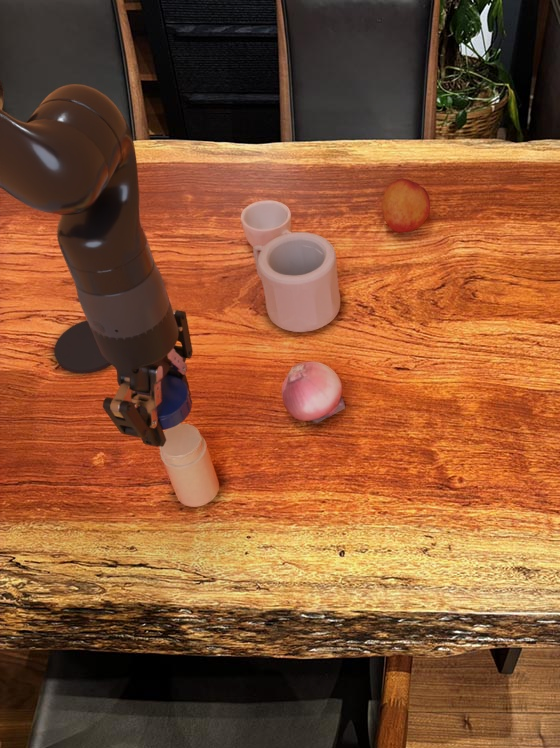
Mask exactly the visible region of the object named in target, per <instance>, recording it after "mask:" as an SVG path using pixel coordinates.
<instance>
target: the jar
mask: <svg viewBox="0 0 560 748" xmlns="http://www.w3.org/2000/svg"><path fill="white" fill-rule="evenodd" d="M163 432H164V435H165V437H166V442H165V444H164V446H163V447H160V446H158V448H159V452H160V453H159V454H160V459H161V461H162V465H163V466H164V469H165V472H166V473H167V477H168V478H169V481H170V484H171V486H172V488H173V491H174V493H175V496H176V498H177V500H178V501H179V502H180V503H181V504H182V505H184V506H187V507H189V508H190V507H191V508H195V507H196V508H197V507H201V506H204V505H208V503H210V502H211V501H213V499H214V498H216V496H217V495H218V493H219V489H220V482H219V478H218V475H217V471H216V469H215V466H214V463H213V461H212V457H211V453H210V450H209V448H208V444H207V442H206V440H205V438H204V437H203V435H202V434H201V432H200V430H199V429H198V428H197V427H196V426H195V425H193V424H189V423H180V424H178V425H177V426H175V427H172V428H169V429H165V430H164V431H163Z"/></svg>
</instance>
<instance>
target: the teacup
mask: <svg viewBox="0 0 560 748" xmlns="http://www.w3.org/2000/svg"><path fill="white" fill-rule="evenodd" d="M240 222H241V223H240V224H241V227H242V230H243V233H244V237H245V239H246V241H247V243H248V244H249V245H250V246H251V247H252V248H253V247H254V246H256V245H260V246H265V245H266V244H267V243H268V242H270V241H271V240H273V239H274V238H276V237H278V236H281V235H284V234H287V233H293V232H292V212H291V210H290V208H289V207H288V206H287V205H286V204H285V203H283V202H280V201H277V200H272V199H270V200H269V199H265V200H259V201H255V202H253V203H251V204H249V205H247V206H246V207H245V208H243V210H242V212H241V214H240Z"/></svg>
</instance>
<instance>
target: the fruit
mask: <svg viewBox="0 0 560 748" xmlns="http://www.w3.org/2000/svg"><path fill="white" fill-rule="evenodd" d="M430 212H431V199H430V195H429V194H428V191H427V190H426V188H425V187H423V186H422V185H420V184H419V183H416V182H415V181H412V180H411V179H409V178H404V177H403V178H398V179H396V180H394V181H392V182H390V184H389V185H388V186H387V187H386V189H385V191H384V193H383V196H382V200H381V214H382V216H383V219H384V220H385V222H386V224H387V226H388V227H389V228H390V229H391V230H392V231H394V232H396V233H398V234H399V233H401V234H402V233H403V234H404V233H411V232H414V231H416V230H417V229H419V228H420V227H421V226H422V225H423V224H424V223H425V222H426V221H427V218H428V217H429V215H430Z"/></svg>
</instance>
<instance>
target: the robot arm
mask: <svg viewBox="0 0 560 748" xmlns="http://www.w3.org/2000/svg"><path fill="white" fill-rule="evenodd" d="M4 101H5V90H4V86H3V81H2V80H1V79H0V189H1V190H3V191H4V192H5V193H7V194H8V195H10V196H11V197H12V198H14V199H16V200H17V201H18V202H20V203H22V204H24V205H26V206H27V207H29V208H31V209H34V210H36V211H39V212H42V213H46V214H50V215H56V216H60V218H59V220H58V223H57V228H56V238H57V242H58V246H59V249H60V252H61V254H62V257H63V259H64V262H65V264H66V267H67V269H68V271H69V273H70V276H71V279H72V280H73V283H74V286H75V289H76V294H77V298H78V301H79V304H80V307H81V309H82V312H83V314H84V316H85V318H86V320H87V321H88V323H89V326H90V328H91V330H92V333H93V335H94V337H95V340H96V342H97V344H98V347H99V349H100V351H101V353H102V355H103V356H104V358H105V359H106V360H107V361H108V362H109V363H111V364H112V365H111V366H112V367H114V369H115V370H116V381H117V385H118V386H119V387H118V389H117V391H116V393H115V395H114V397H110V396H109V397H105V398H104V400H103V402H102V408H103V410H104V411H105V413H106V414H107V415H108V417H109V418H110V420H111V421H112V423H113V424H114V425H115V427H116V428H117V429H118V430H117V431H119V432H120V434H121V435H126V436H130V437H135V438H140V439H141V441H142V444H144V445H146V446H150V447H156V448H159V446H160V447H163V446H164V444H165V442H166V437H165V435H164V432H165V431H164V430H162V427H161V424H160V422H159V420H158V410H157V406H158V405H160V404H161V402H162V397H161V382H162V379H163V378H164V376H165V375H172V376H175V377H178V378H180V379H181V380H182V381H183V382H184V383H185V384H186V386H187V387H188V390H189V393H190V397H191V395H192V393H191V390H190V384H189V382H188V378H187V374H186V373H187V371H188V364H187V363H186V360H190V359H191V358H192V356H193V346H192V345H193V344H192V339H191V334H190V329H189V324H188V318H187V317H188V316H187V313H186V311H184V310H179V309H175V308H173V306H172V304H171V301H170V298H169V294H168V291H167V288H166V285H165V281H164V278H163V276H162V273H161V271H160V269H159V267H158V265H157V263H156V262H155V259H154V257H153V253H152V249H151V246H150V243H149V240H148V237H147V234H146V230H145V228H144V225H143V223H142V220H141V219H142V218H141V207H140V205H141V199H140V198H141V197H140V185H139V173H138V162H137V161H138V160H137V153H136V147H135V143H134V140H133V134H132V132H131V129H130V127H129V125H128V123H127V120H126V119H125V117H124V115H123V114H122V111H120V109H119V108H118V107H117V105H116V104H115V103H114V102H113V101H112V100H111V99H110V98H109V97H108V96H107V95H106V94H104V93H103V92H101V91H99V90H98V89H96V88H94V87H92V86H88V85H84V84H79V83H78V84H76V83H75V84H74V83H73V84H66V85H63V86H60V87H58V88H56V89H55V90H53V91H52V92H51V93H49V94H48V95H47V96H46V97H45V98H44V99H43V100H42V102H41V103H40V104H39V105H38V107H36V109H35V111H34V112H33V113H32V114H31V115H30V117H29V118H28V119H27V121H25V122H24V121H21V120H19V119H17V118H15V117H13V116H11V115H10V114H8V113H7V112H5V111H4V110H3V109H4ZM177 342H179V343H180V344H181V345H177ZM136 391H137V392H143V393H151V396H146V395H141V394H138V393H137V392H136ZM140 407H143V408H146V409H147V415H146V414H140Z"/></svg>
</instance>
